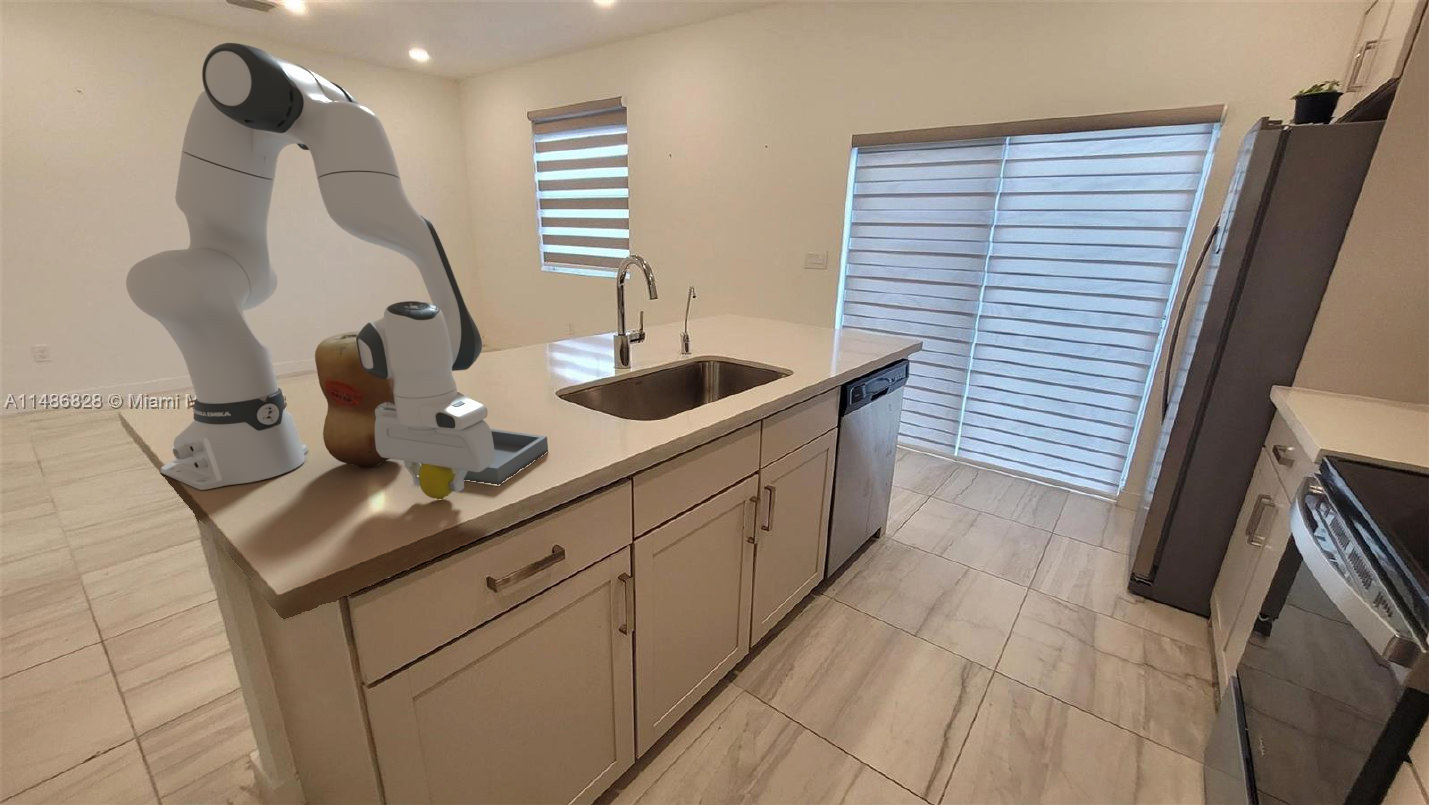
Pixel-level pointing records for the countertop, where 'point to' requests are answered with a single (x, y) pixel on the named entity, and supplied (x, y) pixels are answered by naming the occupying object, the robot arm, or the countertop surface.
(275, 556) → the countertop surface
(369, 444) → the butternut squash
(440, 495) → the lemon
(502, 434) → the tray
